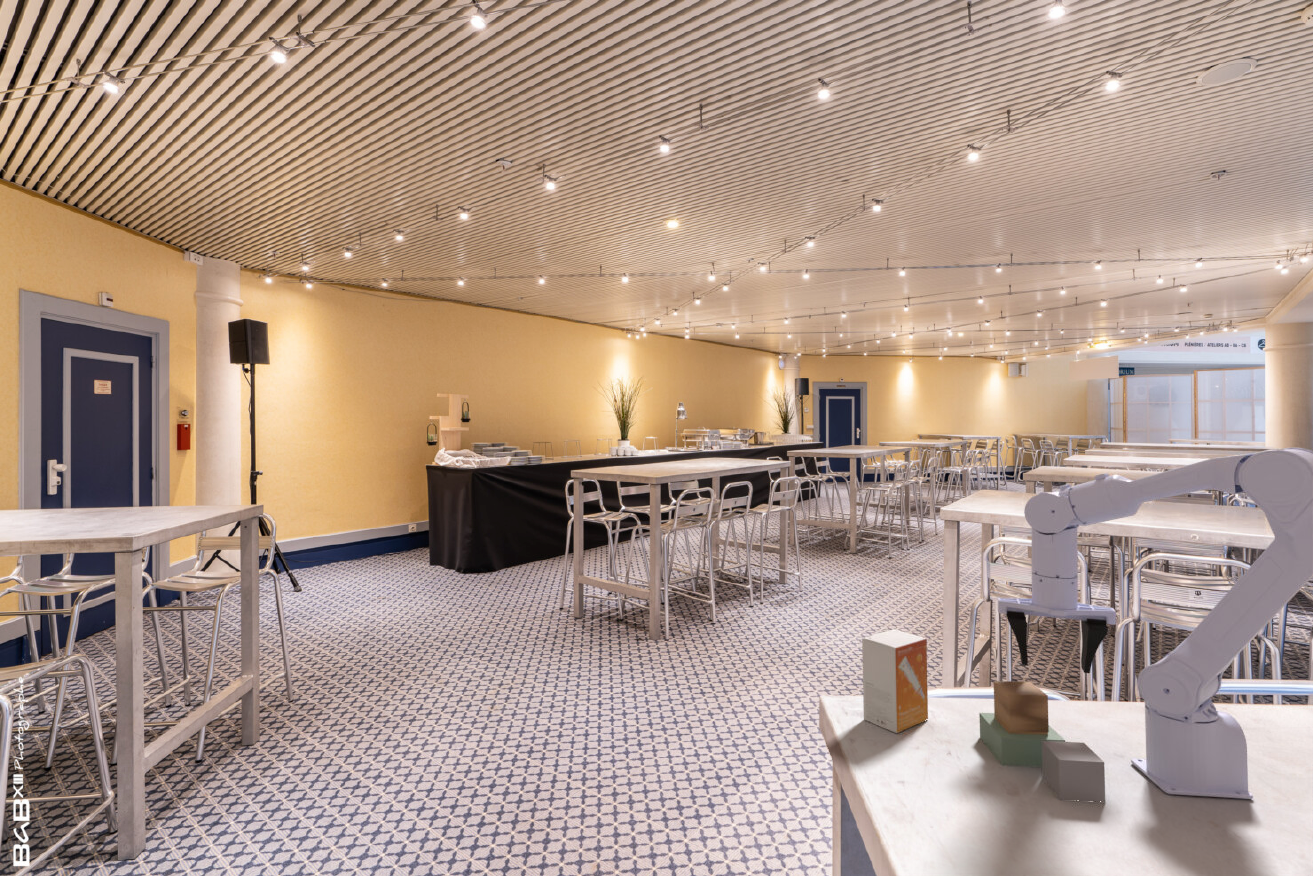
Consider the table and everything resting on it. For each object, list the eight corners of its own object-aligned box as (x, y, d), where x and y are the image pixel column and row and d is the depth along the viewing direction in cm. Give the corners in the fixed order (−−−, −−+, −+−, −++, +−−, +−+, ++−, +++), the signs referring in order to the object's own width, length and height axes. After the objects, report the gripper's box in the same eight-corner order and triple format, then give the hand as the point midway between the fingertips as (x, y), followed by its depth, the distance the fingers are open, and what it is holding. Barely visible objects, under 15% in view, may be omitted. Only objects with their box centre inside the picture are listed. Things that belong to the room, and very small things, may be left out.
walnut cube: (1030, 716, 92) (1030, 681, 92) (1048, 732, 87) (1047, 695, 87) (994, 715, 92) (993, 681, 92) (1009, 731, 87) (1009, 695, 87)
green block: (1038, 742, 93) (1037, 712, 93) (1066, 770, 85) (1065, 738, 85) (980, 740, 94) (979, 710, 94) (1002, 767, 86) (1001, 736, 86)
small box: (897, 735, 95) (895, 647, 95) (862, 720, 101) (860, 637, 101) (929, 720, 100) (927, 637, 100) (894, 707, 105) (892, 628, 105)
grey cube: (1084, 781, 82) (1083, 742, 82) (1105, 804, 77) (1104, 762, 77) (1042, 779, 82) (1041, 740, 82) (1060, 800, 78) (1058, 759, 78)
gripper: (1000, 575, 92) (1000, 669, 92) (1121, 585, 86) (1121, 684, 86) (996, 565, 99) (996, 653, 99) (1109, 573, 93) (1109, 666, 93)
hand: (1054, 666), depth 93 cm, fingers open, 7 cm apart
